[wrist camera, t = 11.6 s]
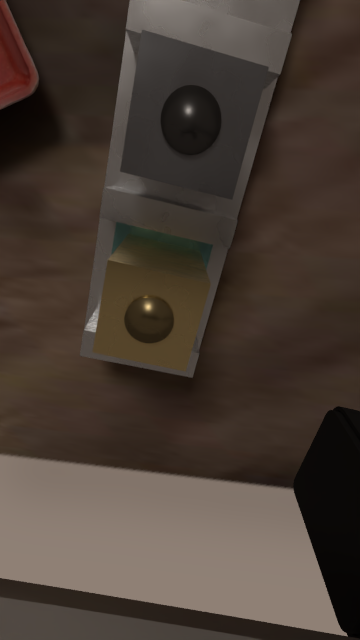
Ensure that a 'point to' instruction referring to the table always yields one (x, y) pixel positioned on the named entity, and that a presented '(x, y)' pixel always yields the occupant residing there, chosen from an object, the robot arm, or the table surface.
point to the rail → (169, 200)
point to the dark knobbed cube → (190, 115)
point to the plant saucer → (14, 62)
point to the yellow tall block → (151, 303)
